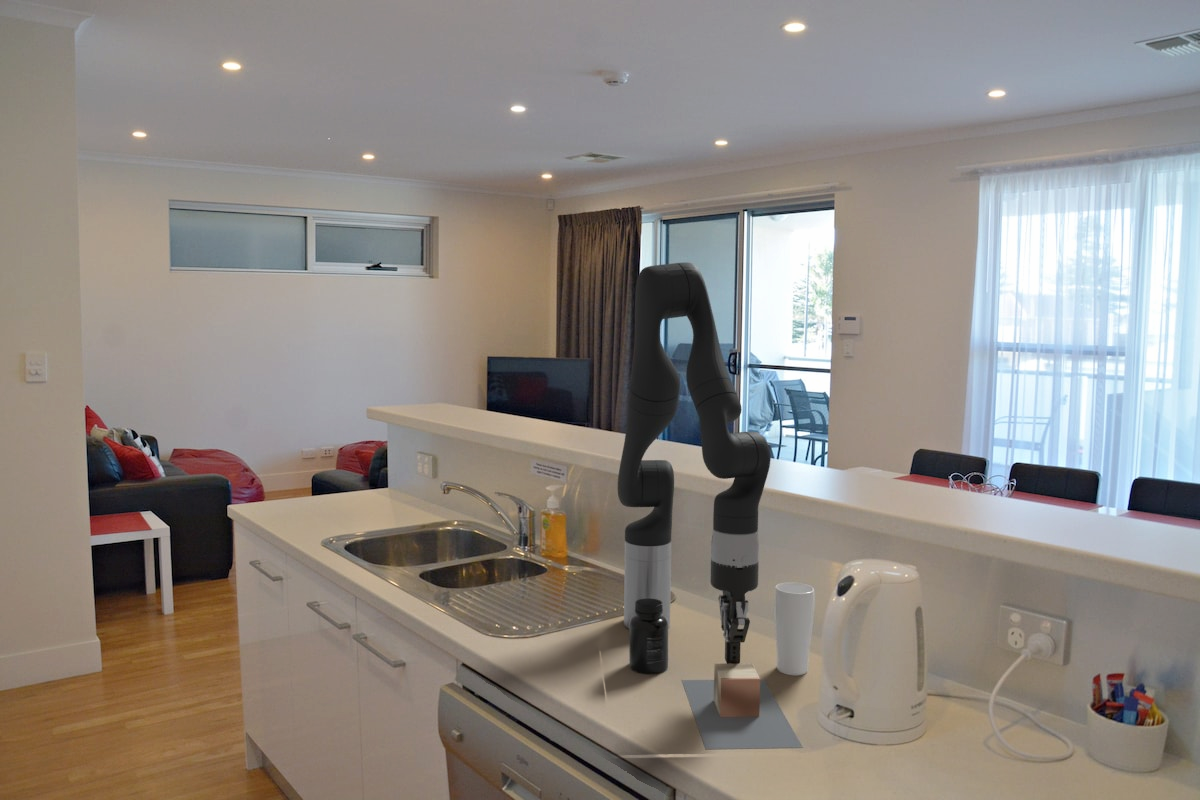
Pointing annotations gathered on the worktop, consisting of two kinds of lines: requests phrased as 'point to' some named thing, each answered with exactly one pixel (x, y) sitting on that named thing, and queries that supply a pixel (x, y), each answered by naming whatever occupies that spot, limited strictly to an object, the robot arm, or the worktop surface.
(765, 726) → the slate mat
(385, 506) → the worktop surface
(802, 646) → the drinking glass
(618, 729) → the worktop surface
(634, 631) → the supplement bottle
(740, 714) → the birch cube
